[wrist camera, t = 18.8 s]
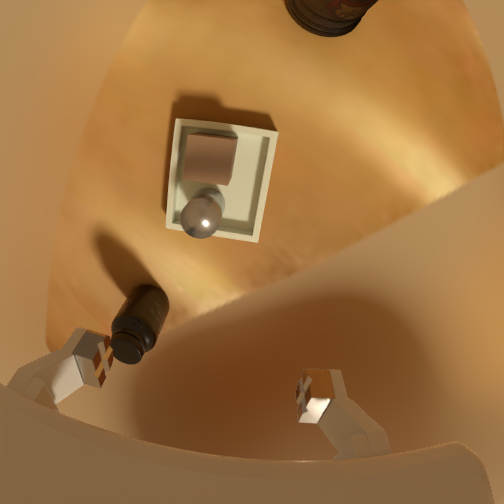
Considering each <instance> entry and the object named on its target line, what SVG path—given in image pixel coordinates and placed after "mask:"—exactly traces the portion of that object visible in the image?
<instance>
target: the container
mask: <svg viewBox="0 0 504 504" xmlns="http://www.w3.org/2000/svg"><path fill="white" fill-rule="evenodd" d="M377 1H378V0H288V9H289V12H290V14H291V16H292V18H293V19H294V20H295V22H296V23H297V24H298V25H300V26H301V27H302V28H303V29H305V30H307V31H309V32H311V33H313V34H316V35H319V36H324V37H338V36H342V35H345V34H347V33H349V32H351V31H352V30H353V29H354V28H355V27H356V26H357V25H358V23H359V22H360V21H361V19H362V17H363V16H364V15H365V13H366V12H367V10H368V9H369V8H370V7H371V6H373V5H374V4H375V3H376V2H377Z"/></svg>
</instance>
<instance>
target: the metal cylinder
mask: <svg viewBox="0 0 504 504" xmlns="http://www.w3.org/2000/svg"><path fill="white" fill-rule="evenodd" d="M224 210H225V199H224V197H223V195H222V194H221V193H220V192H219V191H218V190H216V189H213V188H202V189H200V190H198V191H197V192H196V193H195V194H194V195H193V197H192V198H191V199H190V200H189V202H188V203H187V204H186V205H185V207H184V208H183V210H182V212H181V215H180V223H181V226H182V228H183V229H184V231H185V232H186V233H187V234H188V235H190V236H192V237H194V238H199V239H203V238H207V237H210V236H211V235H213V234H214V233H215V232H216V231H217V229H218V226H219V224H220V221H221V218H222V215H223V212H224Z"/></svg>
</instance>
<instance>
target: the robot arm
mask: <svg viewBox="0 0 504 504" xmlns="http://www.w3.org/2000/svg"><path fill="white" fill-rule="evenodd" d="M110 344H111V339H110V336H108V335H105V334H102V333H98V332H95V331H92V330H88V329H85V328H82V327H78V328H76V329H75V331H74V332H73V334H72V335H71V336H70V338H69V339H68V341H67V342H66V344H65V345H64V347H63V348H62V350H56V351H54V352H52V353H50V354H48V355H46V356H44V357H41V358H39V359H37V360H35V361H33V362H31V363H29V364H26V365H24V366H22V367H20V368H19V369H18V370H17V371H16V373H15V374H14V376H13V377H12V379H11V380H10V382H9V383H8V385H7V386H4V385H2V384H1V383H0V504H494V500H493V495H492V491H491V487H490V483H489V480H488V477H487V473H486V470H485V467H484V464H483V462H482V460H481V458H480V457H479V456H478V455H477V454H476V453H475V452H474V451H472V450H471V449H470V448H469V447H467V446H466V445H464V444H463V443H461V442H459V441H453V442H449V443H445V444H440V445H436V446H432V447H428V448H423V449H418V450H413V451H408V452H402V453H396V454H392V452H391V448H390V445H389V441H388V438H387V434H386V431H385V430H384V429H382V428H381V427H380V426H379V425H378V424H377V423H376V422H375V421H374V420H373V419H372V418H370V417H369V416H368V415H367V414H366V413H365V412H364V411H363V410H362V409H361V408H360V407H359V406H358V405H357V404H356V403H355V402H354V401H353V400H352V399H348V397H347V393H346V390H345V385H344V382H343V378H342V374H341V371H340V370H327V369H312V368H305V369H304V370H303V373H302V379H301V380H299V382H298V385H297V389H296V402H297V403H298V404H299V407H298V409H297V415H298V422H303V423H318V425H319V427H320V428H321V430H322V431H323V432H324V434H325V435H326V436H327V438H328V439H329V440H330V441H331V443H332V444H333V445H334V447H335V448H336V449H337V451H338V454H337V455H336V456H335V457H334V458H333V459H332V460H321V461H282V460H281V461H279V460H261V459H246V458H236V457H227V456H219V455H212V454H205V453H198V452H193V451H187V450H182V449H177V448H172V447H167V446H163V445H158V444H154V443H149V442H146V441H142V440H138V439H134V438H131V437H127V436H123V435H120V434H117V433H114V432H111V431H108V430H104V429H101V428H98V427H96V426H93V425H90V424H87V423H84V422H82V421H79V420H76V419H74V418H71V417H68V416H66V415H64V414H61V413H60V411H59V409H58V408H57V406H56V404H57V403H58V402H60V401H61V400H62V399H64V398H65V397H66V396H68V395H70V394H71V393H72V392H74V391H75V390H76V389H78V388H79V387H81V386H82V385H84V383H85V384H88V385H91V386H95V387H98V388H101V387H102V385H103V383H104V381H105V379H106V375H105V372H107V371H109V370H110V368H111V366H112V363H113V349H112V348H111V347H110Z"/></svg>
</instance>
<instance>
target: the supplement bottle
mask: <svg viewBox="0 0 504 504" xmlns="http://www.w3.org/2000/svg"><path fill="white" fill-rule="evenodd" d="M168 312H169V301H168V299H167V297H166V295H165V294H164V293H163V292H162V291H161V290H160V289H158V288H157V287H155V286H152V285H146V284H144V285H139V286H137V287H135V288H134V289H133V290H132V291H131V293H130V294H129V296H128V297H127V299H126V300H125V302H124V304H123V305H122V307H121V308H120V310H119V312H118V313H117V315H116V316H115V318H114V320H113V322H112V325H111V331H112V337H111V344H110V347H111V348H112V349H113V356H114V357H115V358H116V359H117V360H119V361H121V362H123V363H126V364H130V365H131V364H136V363H138V362H140V360H141V359H142V356H143V355H144V353H145V352H148V351H150V350H151V349H152V348H153V347H154V346H155V344H156V342H157V339H158V337H159V334H160V332H161V329H162V327H163V324H164V322H165V319H166V317H167V314H168Z"/></svg>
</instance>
